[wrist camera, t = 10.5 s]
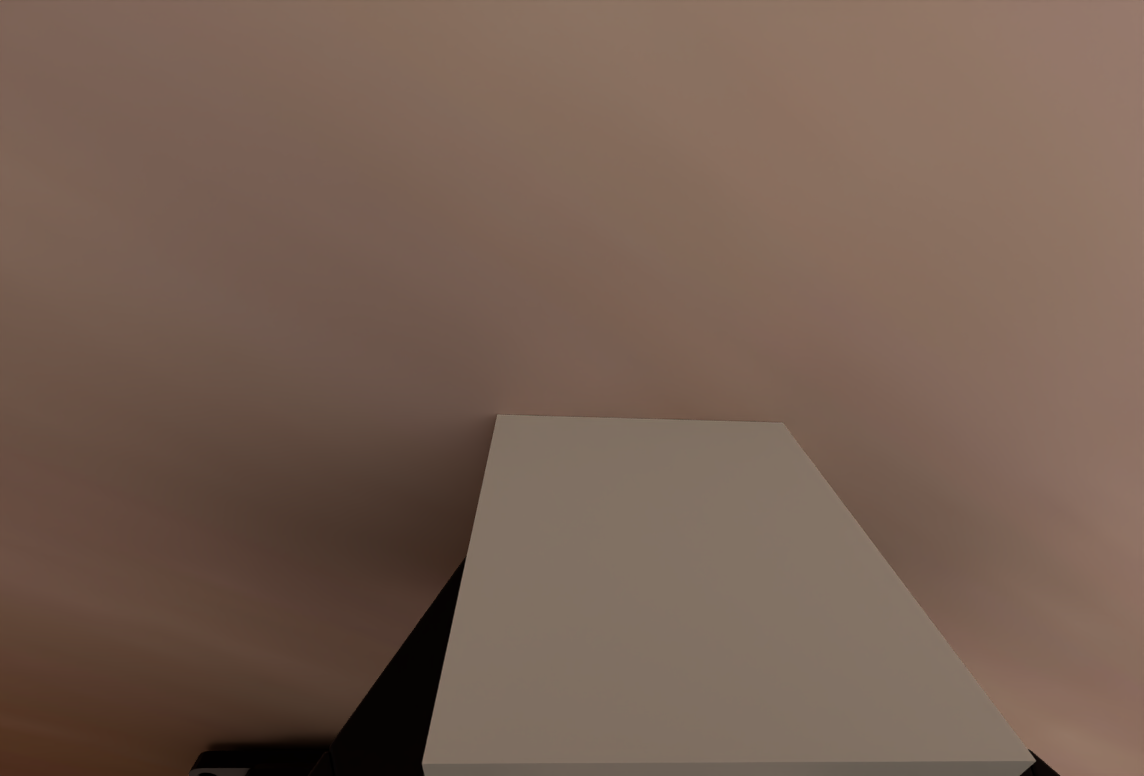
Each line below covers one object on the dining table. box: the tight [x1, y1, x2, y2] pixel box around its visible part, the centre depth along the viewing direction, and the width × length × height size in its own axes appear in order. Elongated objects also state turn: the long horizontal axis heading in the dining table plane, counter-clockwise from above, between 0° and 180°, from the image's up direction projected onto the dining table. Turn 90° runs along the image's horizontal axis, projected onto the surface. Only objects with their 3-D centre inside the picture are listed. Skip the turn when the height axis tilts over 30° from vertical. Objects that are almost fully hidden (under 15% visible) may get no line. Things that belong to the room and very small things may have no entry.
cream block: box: [422, 415, 1036, 776], centre depth 7 cm, size 5×5×5 cm
